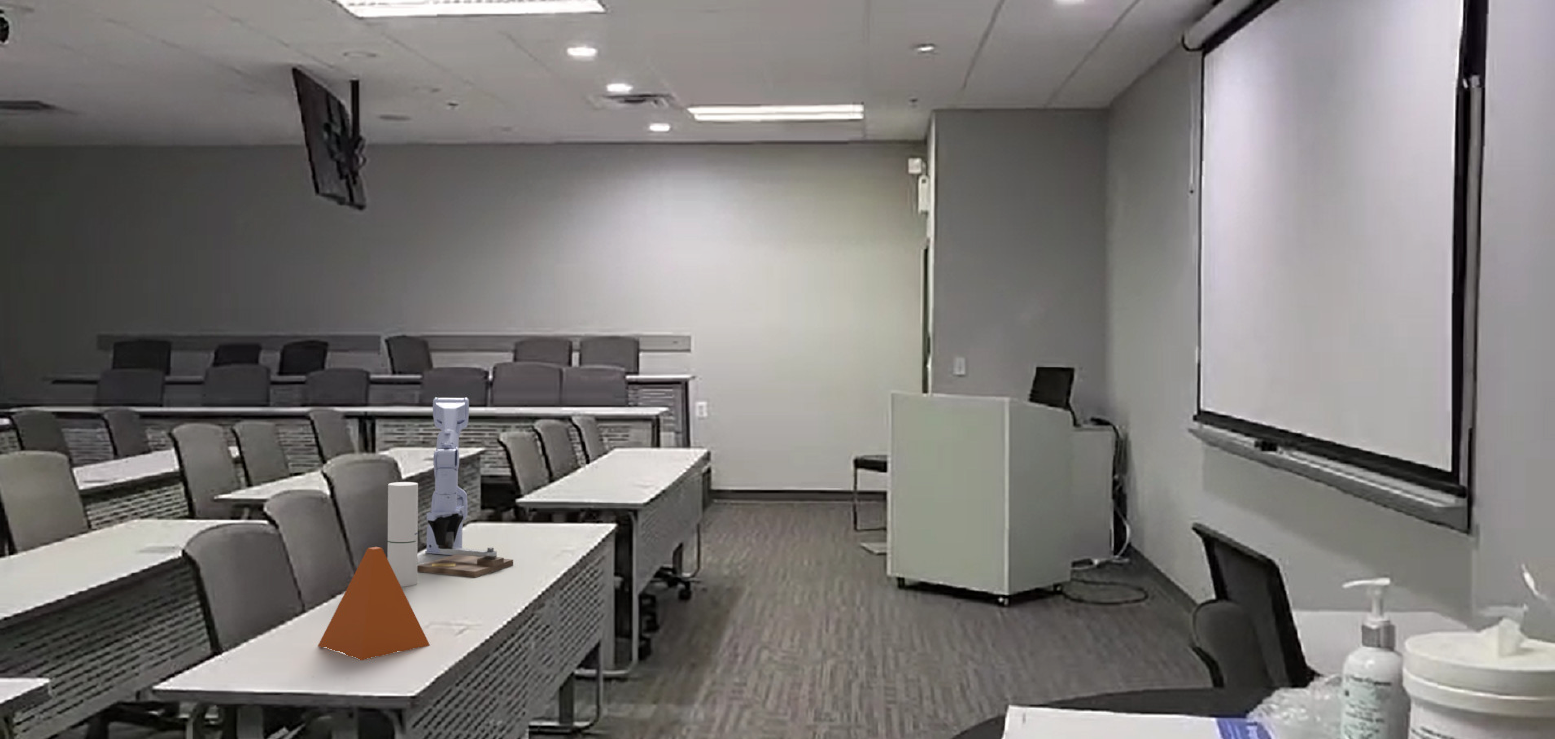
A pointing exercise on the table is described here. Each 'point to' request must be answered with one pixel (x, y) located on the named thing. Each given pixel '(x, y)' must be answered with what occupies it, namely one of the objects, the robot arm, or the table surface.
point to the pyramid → (373, 613)
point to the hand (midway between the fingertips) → (445, 543)
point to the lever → (449, 548)
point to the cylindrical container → (403, 531)
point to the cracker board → (465, 565)
